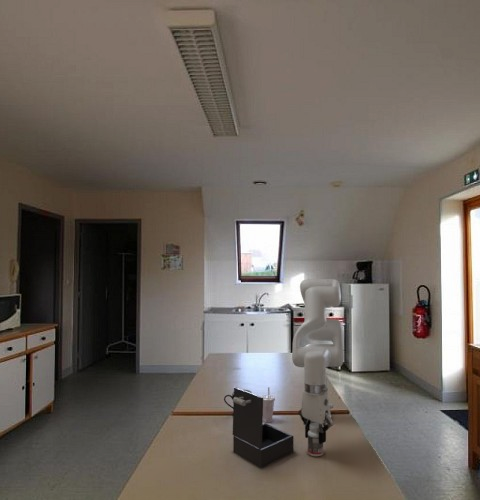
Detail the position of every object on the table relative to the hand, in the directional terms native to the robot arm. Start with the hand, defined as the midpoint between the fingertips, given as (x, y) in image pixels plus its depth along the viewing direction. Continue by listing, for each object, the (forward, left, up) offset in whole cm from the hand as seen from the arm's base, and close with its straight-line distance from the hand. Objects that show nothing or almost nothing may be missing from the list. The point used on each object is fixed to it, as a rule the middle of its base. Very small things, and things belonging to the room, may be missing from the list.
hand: (315, 439), depth 134 cm
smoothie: (-7, -32, -5) cm, 33 cm away
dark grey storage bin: (+13, -13, -5) cm, 19 cm away
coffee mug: (-2, -45, -5) cm, 45 cm away
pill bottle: (0, 0, -5) cm, 5 cm away
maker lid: (+20, -13, +10) cm, 26 cm away
